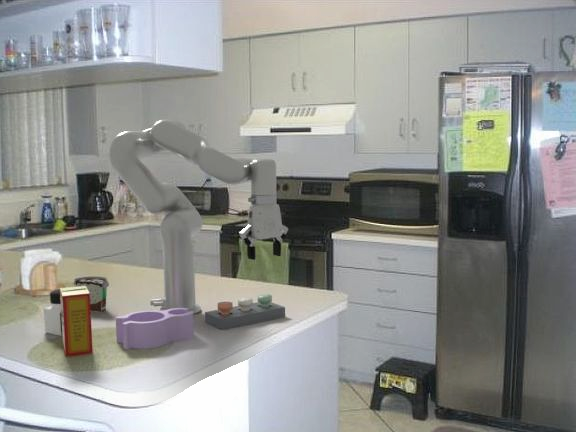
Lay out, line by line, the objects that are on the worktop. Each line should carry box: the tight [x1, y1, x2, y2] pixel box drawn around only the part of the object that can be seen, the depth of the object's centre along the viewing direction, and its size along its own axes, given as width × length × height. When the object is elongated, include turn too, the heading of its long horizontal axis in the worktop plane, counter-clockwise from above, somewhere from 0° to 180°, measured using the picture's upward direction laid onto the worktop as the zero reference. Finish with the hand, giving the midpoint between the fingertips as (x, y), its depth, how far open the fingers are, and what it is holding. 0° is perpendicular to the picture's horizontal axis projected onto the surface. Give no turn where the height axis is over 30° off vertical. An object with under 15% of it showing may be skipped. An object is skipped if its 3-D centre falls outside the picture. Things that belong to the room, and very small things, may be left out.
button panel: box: [204, 301, 286, 331], centre depth 198 cm, size 22×10×3 cm, turn 126°
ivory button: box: [237, 297, 254, 312], centre depth 198 cm, size 4×4×4 cm
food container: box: [73, 275, 110, 314], centre depth 211 cm, size 12×6×10 cm, turn 65°
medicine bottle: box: [43, 288, 62, 337], centre depth 187 cm, size 7×7×12 cm
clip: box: [115, 308, 195, 350], centre depth 179 cm, size 20×12×7 cm, turn 120°
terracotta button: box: [217, 301, 234, 316], centre depth 193 cm, size 4×4×4 cm
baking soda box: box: [59, 286, 94, 358], centre depth 171 cm, size 10×6×16 cm
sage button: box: [257, 294, 273, 308], centre depth 202 cm, size 4×4×4 cm
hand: (264, 257), depth 200 cm, fingers open, 8 cm apart
